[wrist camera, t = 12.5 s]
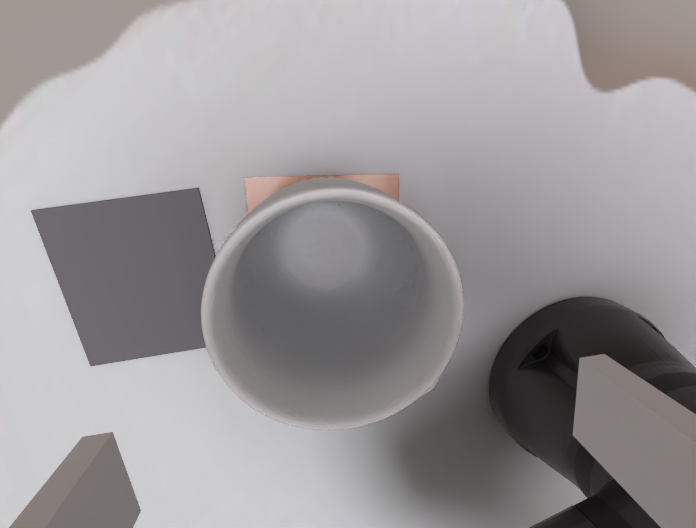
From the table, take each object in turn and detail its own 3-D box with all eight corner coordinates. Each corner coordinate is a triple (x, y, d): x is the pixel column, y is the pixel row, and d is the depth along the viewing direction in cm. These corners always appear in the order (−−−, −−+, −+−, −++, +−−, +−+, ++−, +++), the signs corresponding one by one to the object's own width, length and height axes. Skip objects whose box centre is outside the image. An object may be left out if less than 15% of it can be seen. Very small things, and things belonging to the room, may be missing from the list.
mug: (452, 282, 29) (560, 376, 17) (352, 368, 31) (383, 514, 18) (327, 136, 25) (347, 118, 13) (216, 243, 26) (136, 321, 14)
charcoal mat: (201, 187, 26) (197, 188, 25) (237, 337, 29) (235, 342, 29) (39, 209, 25) (30, 210, 24) (96, 360, 29) (90, 366, 28)
